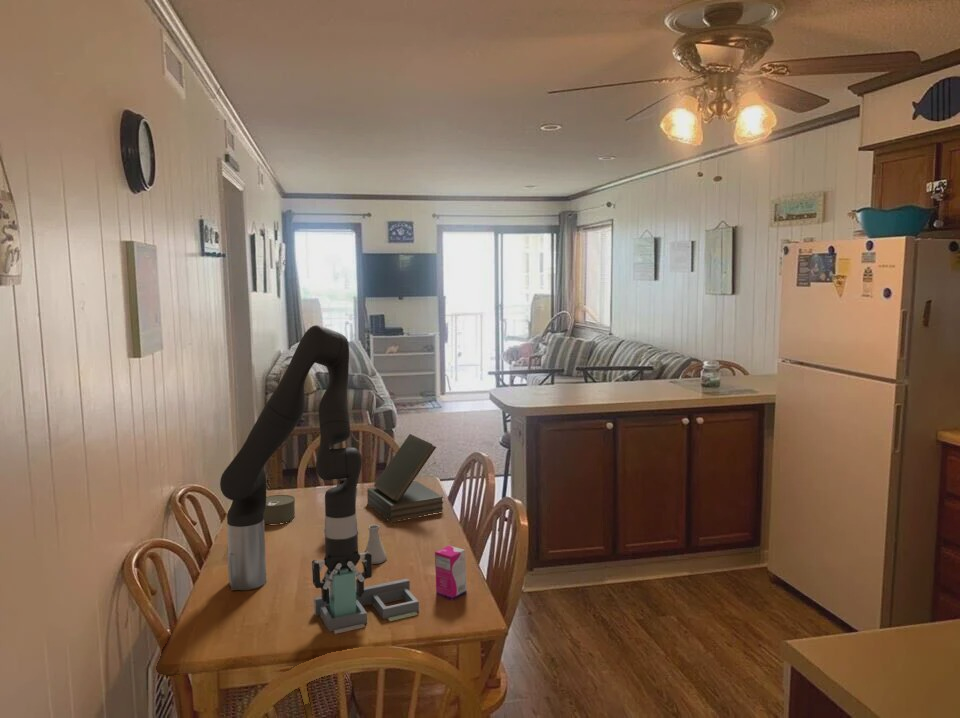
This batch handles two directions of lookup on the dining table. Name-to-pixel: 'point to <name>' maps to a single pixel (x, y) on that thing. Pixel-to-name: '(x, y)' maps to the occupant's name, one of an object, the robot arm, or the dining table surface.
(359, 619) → the socket panel
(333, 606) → the plug
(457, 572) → the supplement box
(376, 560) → the flask
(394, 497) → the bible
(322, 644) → the dining table surface
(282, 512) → the can
